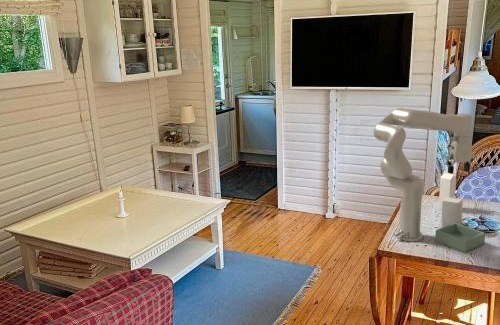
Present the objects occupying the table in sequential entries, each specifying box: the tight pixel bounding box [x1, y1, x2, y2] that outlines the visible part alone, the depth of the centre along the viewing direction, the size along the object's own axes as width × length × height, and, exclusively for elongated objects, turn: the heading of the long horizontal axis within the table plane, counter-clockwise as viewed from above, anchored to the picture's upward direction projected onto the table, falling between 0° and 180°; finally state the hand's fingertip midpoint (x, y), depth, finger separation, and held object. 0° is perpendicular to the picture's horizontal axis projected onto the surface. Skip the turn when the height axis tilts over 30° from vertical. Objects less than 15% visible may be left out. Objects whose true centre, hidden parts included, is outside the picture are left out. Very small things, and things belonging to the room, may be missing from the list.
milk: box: [438, 170, 457, 211], centre depth 250 cm, size 6×6×22 cm
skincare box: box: [441, 197, 464, 228], centre depth 226 cm, size 8×7×16 cm
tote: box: [434, 223, 486, 254], centre depth 211 cm, size 15×16×6 cm
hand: (458, 172), depth 225 cm, fingers open, 9 cm apart
